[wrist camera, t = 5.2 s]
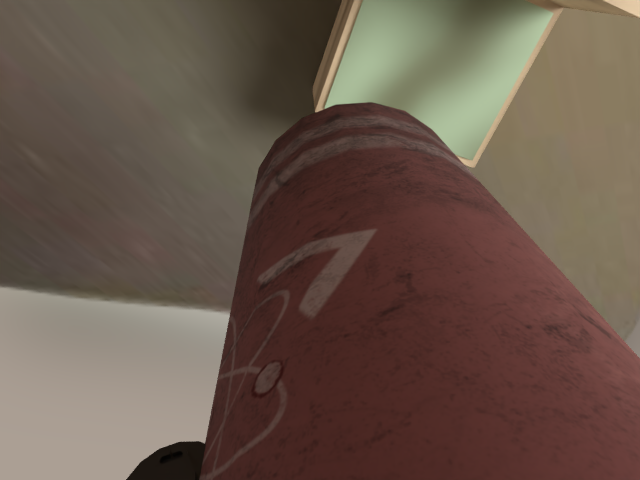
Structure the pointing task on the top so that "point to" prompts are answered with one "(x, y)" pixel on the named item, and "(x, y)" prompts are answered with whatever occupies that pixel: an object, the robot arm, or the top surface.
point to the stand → (442, 59)
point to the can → (407, 326)
